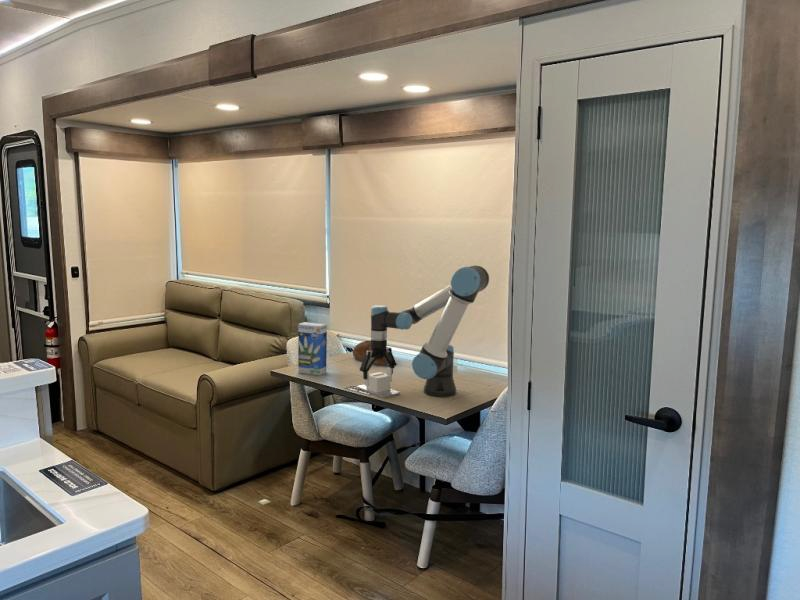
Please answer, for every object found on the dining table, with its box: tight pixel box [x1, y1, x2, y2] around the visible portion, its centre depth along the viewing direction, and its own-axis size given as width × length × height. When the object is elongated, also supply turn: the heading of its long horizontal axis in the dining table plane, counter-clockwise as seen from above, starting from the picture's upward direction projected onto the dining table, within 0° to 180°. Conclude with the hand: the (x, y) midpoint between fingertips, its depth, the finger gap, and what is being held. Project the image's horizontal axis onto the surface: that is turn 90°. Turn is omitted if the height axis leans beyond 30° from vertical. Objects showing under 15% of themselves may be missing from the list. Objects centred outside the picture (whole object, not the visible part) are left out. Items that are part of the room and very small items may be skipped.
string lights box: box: [297, 321, 328, 376], centre depth 311 cm, size 13×8×26 cm, turn 69°
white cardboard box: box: [366, 371, 391, 392], centre depth 281 cm, size 8×8×7 cm
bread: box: [352, 340, 390, 366], centre depth 340 cm, size 16×29×11 cm, turn 40°
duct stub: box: [356, 384, 401, 399], centre depth 281 cm, size 20×10×6 cm, turn 41°
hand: (378, 383), depth 281 cm, fingers open, 13 cm apart
